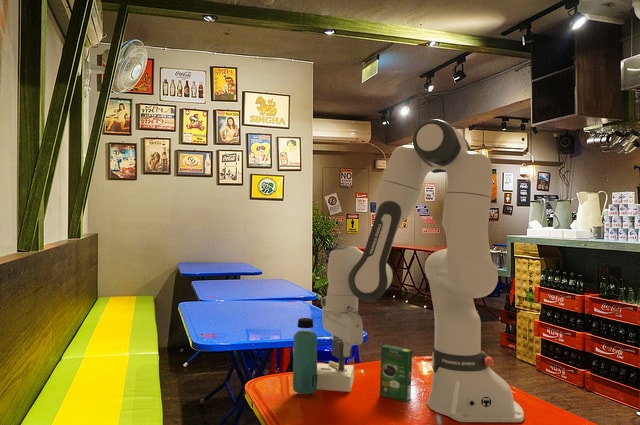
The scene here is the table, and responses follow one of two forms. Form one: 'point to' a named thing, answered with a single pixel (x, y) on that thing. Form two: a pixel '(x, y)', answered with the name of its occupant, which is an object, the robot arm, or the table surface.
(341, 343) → the dark box with stem
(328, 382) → the cream square baseplate
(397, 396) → the coffee box
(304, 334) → the beverage bottle
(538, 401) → the table surface
